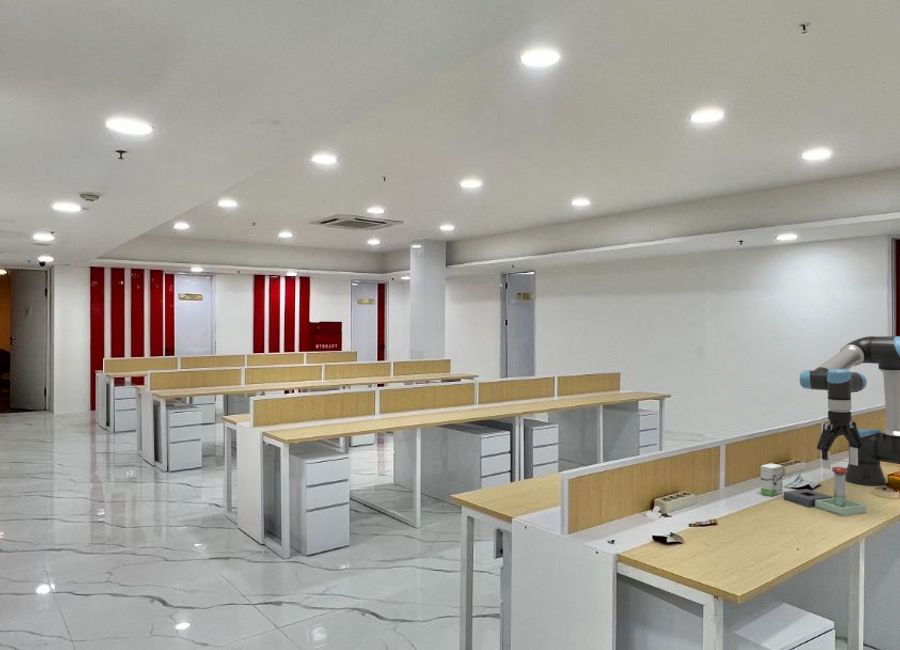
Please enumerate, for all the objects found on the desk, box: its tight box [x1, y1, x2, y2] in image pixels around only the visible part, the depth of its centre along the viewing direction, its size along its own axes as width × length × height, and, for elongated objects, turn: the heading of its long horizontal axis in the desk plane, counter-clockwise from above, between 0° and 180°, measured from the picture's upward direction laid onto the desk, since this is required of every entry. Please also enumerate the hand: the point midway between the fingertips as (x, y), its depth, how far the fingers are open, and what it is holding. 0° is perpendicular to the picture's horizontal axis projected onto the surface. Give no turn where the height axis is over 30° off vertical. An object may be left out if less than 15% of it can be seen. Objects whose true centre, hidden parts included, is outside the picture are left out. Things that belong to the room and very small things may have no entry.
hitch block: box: [783, 488, 834, 508], centre depth 249 cm, size 12×12×3 cm
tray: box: [814, 497, 867, 517], centre depth 238 cm, size 12×12×3 cm
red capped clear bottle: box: [831, 466, 847, 508], centre depth 238 cm, size 5×5×15 cm
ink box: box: [760, 462, 784, 497], centre depth 261 cm, size 9×5×12 cm, turn 124°
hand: (840, 466), depth 238 cm, fingers open, 13 cm apart
